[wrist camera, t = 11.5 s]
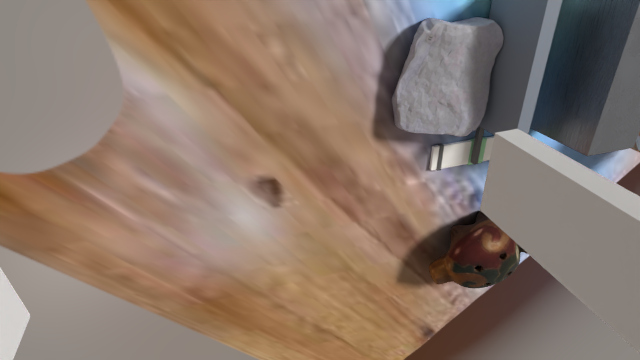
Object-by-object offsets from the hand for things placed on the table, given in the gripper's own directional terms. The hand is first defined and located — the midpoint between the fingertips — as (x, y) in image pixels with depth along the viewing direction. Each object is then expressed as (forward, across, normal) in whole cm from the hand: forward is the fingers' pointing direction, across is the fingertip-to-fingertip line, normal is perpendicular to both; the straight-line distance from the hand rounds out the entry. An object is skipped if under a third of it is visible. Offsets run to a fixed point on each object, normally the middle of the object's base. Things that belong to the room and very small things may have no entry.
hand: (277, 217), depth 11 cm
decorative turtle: (+28, +29, -30) cm, 50 cm away
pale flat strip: (+28, +27, -17) cm, 42 cm away
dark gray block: (+28, +37, -6) cm, 47 cm away
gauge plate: (+28, +28, -8) cm, 40 cm away
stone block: (+28, +22, -7) cm, 36 cm away
